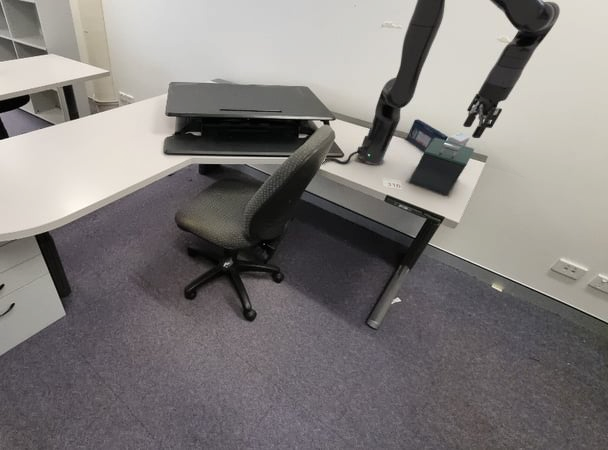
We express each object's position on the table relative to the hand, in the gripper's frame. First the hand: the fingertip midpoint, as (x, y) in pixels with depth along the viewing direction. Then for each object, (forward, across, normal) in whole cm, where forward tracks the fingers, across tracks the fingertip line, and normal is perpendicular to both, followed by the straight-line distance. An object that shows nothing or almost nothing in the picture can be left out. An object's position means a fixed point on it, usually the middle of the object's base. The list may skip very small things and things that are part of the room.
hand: (470, 131), depth 109 cm
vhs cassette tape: (+24, -37, +3) cm, 44 cm away
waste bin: (+24, -7, 0) cm, 25 cm away
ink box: (+24, -26, +10) cm, 37 cm away
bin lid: (+11, -7, 0) cm, 13 cm away
